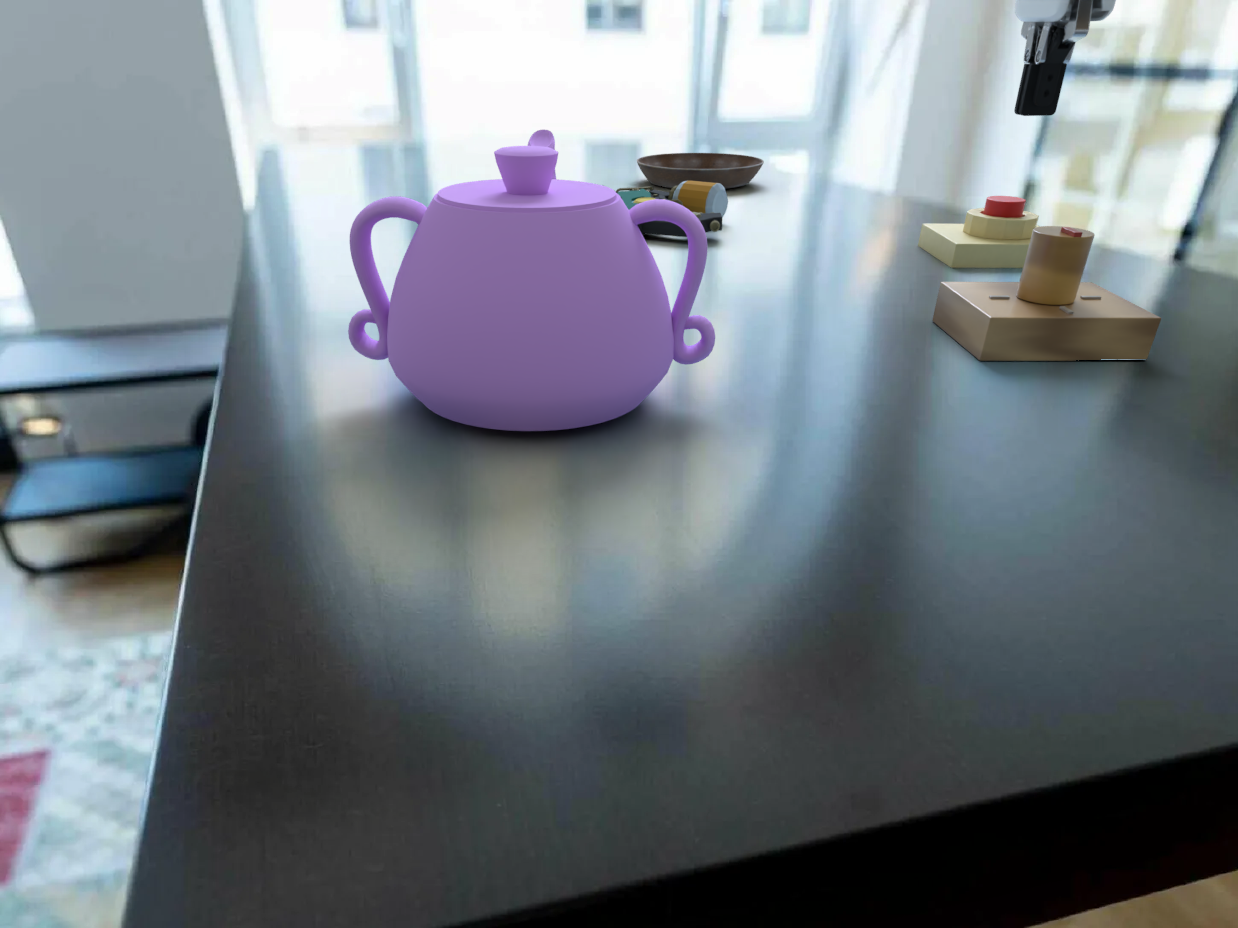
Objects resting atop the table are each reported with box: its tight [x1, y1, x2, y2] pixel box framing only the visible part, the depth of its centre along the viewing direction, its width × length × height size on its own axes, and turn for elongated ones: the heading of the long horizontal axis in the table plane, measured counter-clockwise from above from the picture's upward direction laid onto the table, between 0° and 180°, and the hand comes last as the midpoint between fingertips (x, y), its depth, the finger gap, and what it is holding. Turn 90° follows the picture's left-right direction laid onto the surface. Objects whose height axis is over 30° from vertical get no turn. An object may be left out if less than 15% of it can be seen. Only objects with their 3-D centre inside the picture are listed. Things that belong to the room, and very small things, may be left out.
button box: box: [917, 207, 1041, 269], centre depth 90 cm, size 12×10×4 cm
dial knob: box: [1016, 225, 1096, 305], centre depth 65 cm, size 4×4×5 cm
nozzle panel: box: [931, 281, 1162, 362], centre depth 67 cm, size 12×10×3 cm
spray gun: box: [615, 181, 729, 238], centre depth 100 cm, size 4×17×15 cm
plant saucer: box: [636, 152, 765, 190], centre depth 127 cm, size 18×18×3 cm
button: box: [983, 195, 1027, 218], centre depth 88 cm, size 4×4×2 cm
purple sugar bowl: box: [347, 129, 716, 432], centre depth 54 cm, size 22×22×14 cm
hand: (1034, 114), depth 84 cm, fingers closed
